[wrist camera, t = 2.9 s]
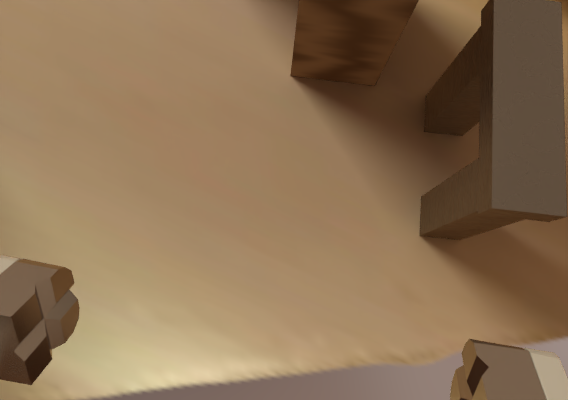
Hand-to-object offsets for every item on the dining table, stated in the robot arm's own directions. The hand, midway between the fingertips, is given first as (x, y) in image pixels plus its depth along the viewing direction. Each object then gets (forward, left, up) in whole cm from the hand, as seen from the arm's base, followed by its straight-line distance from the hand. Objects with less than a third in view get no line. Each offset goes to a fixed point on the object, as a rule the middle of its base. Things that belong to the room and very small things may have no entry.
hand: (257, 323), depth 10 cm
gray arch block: (+17, +16, -35) cm, 42 cm away
